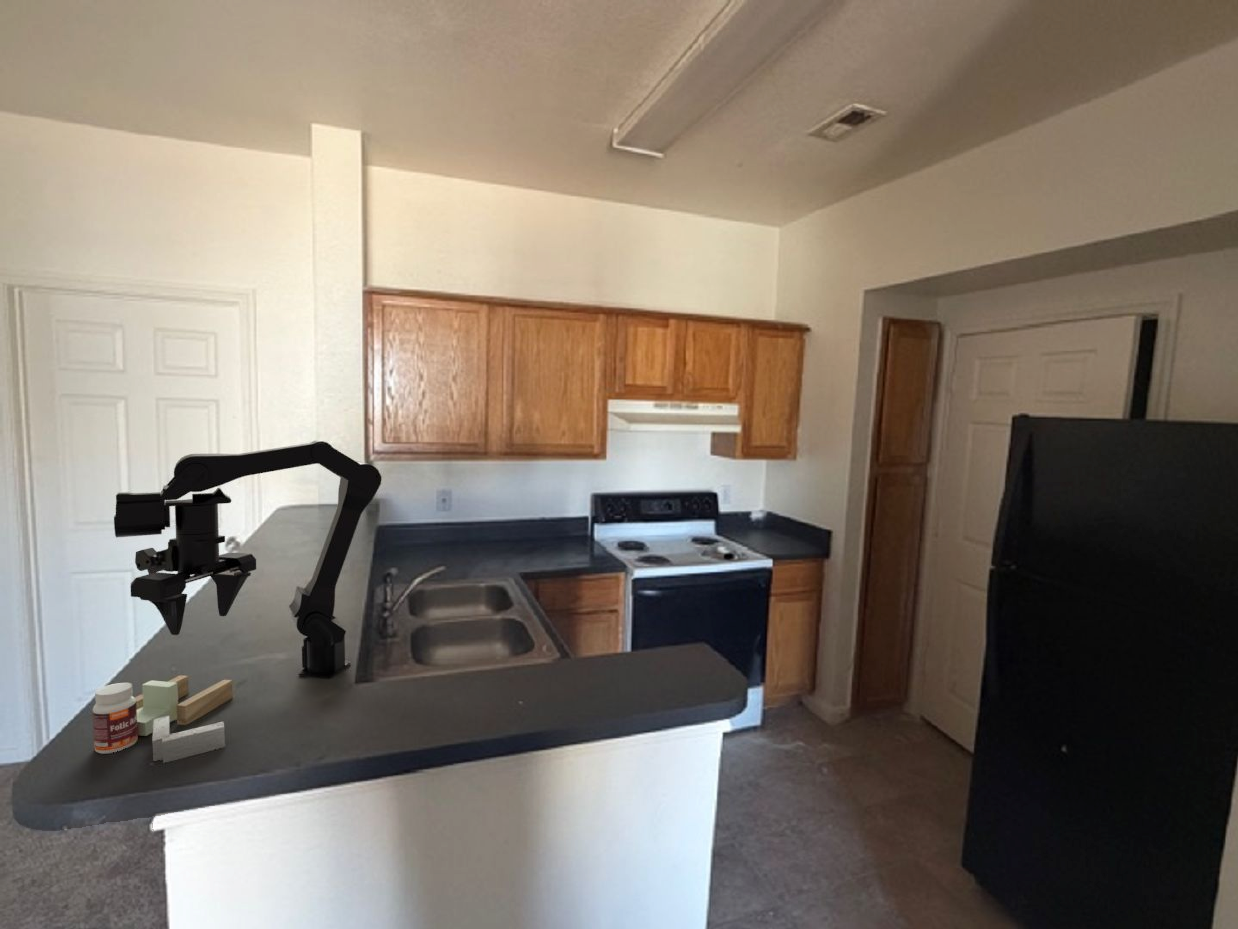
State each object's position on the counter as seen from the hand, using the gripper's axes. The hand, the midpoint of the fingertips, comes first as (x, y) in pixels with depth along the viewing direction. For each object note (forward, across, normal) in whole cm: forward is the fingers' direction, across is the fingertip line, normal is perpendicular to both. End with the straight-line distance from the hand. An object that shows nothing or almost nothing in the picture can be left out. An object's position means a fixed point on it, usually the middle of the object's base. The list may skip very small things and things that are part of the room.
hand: (200, 624), depth 99 cm
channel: (+12, +4, 0) cm, 13 cm away
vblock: (+12, +14, +10) cm, 21 cm away
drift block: (+12, +10, +1) cm, 16 cm away
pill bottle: (+12, +15, +1) cm, 19 cm away
